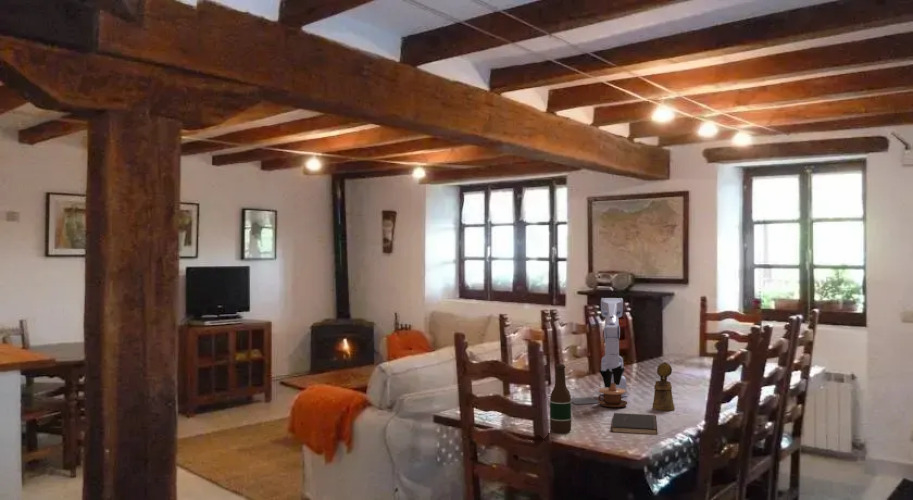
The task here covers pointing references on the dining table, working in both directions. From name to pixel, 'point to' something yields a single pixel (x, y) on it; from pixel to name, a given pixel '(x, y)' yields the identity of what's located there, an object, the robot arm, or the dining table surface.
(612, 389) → the lid
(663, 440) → the dining table surface
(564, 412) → the beer bottle
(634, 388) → the dining table surface
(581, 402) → the coaster
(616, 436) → the dining table surface
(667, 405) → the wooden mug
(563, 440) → the dining table surface
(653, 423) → the hardcover book
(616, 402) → the cup and saucer
